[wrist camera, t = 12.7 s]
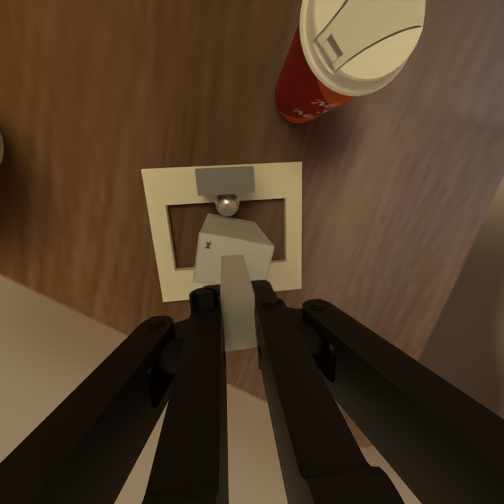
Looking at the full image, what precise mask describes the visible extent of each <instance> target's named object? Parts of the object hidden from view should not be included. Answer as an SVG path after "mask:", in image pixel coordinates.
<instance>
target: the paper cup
mask: <svg viewBox="0 0 504 504" xmlns="http://www.w3.org/2000/svg"><path fill="white" fill-rule="evenodd" d="M425 3H426V0H303V2H302V6H301V12H300V23H299V25H298V28H297V31H296V33H295V36H294V39H293V41H292V44H291V47H290V49H289V52H288V55H287V57H286V60H285V63H284V65H283V68H282V71H281V74H280V77H279V80H278V83H277V86H276V91H275V101H276V106H277V108H278V111H279V112H280V114H281V115H282V116H283V117H284V118H285V119H286V120H288V121H290V122H292V123H298V124H299V123H305V122H308V121H310V120H313V119H315V118H317V117H319V116H320V115H322V114H324V113H326V112H328V111H330V110H332V109H334V108H336V107H337V106H339V105H341V104H343V103H345V102H347V101H349V100H350V99H352V98H354V97H356V96H362V95H367V94H370V93H373V92H375V91H377V90H379V89H381V88H383V87H384V86H385V85H387V84H388V83H389V82H391V81H392V80H393V79H394V78H395V77H396V75H397V74H398V73H399V72H400V71H401V69H402V68H403V66H404V65H405V63H406V61H407V59H408V58H409V56H410V54H411V53H412V51H413V50H414V48H415V46H416V44H417V42H418V40H419V37H420V35H421V32H422V29H423V27H422V26H423V24H424V15H425Z"/></svg>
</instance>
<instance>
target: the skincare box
mask: <svg viewBox="0 0 504 504" xmlns="http://www.w3.org/2000/svg"><path fill="white" fill-rule="evenodd" d="M274 248H275V246H274V245H273V244H272V242H271V241H270V240H269V239H268V238H267V237H266V235H265V234H264V233H263V232H262V230H261V229H260V228H259V227H258V226H257V224H256V223H255V222H253V221H248V220H243V219H237V218H232V217H227V216H221V215H216V214H210V213H208V214H207V217H206V219H205V221H204V223H203V226H202V228H201V230H200V232H199V237H198V245H197V253H196V260H195V268H194V276H193V281H194V282H196V283H204V284H211V285H218V284H221V256H227V255H239V254H243V256H244V260H245V263H246V267H247V270H248V274H249V277H250V281H254V280H267V276H268V272H269V268H270V264H271V260H272V256H273V252H274Z"/></svg>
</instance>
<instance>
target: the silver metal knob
mask: <svg viewBox="0 0 504 504" xmlns="http://www.w3.org/2000/svg"><path fill="white" fill-rule="evenodd" d="M215 207H216V210H217V211H218V212H219V213H220V214H221V215H223V216H232V215H234V214H235V213H236V212H237V211H238V209H239V199H238V197H237V196H236V195H235V194H222V195H218V196H217V198H216V200H215Z"/></svg>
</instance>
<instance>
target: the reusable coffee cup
mask: <svg viewBox="0 0 504 504" xmlns="http://www.w3.org/2000/svg"><path fill="white" fill-rule="evenodd" d="M3 154H4V144H3V139H2V135H1V132H0V164H1V162H2V158H3Z"/></svg>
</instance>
